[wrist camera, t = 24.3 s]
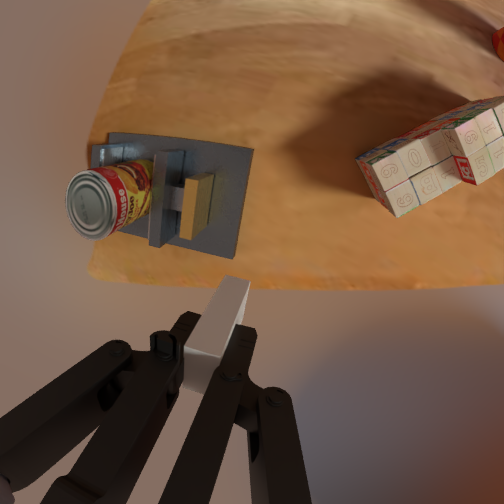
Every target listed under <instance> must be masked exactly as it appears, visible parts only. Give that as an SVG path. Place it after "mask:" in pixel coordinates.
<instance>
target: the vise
mask: <svg viewBox="0 0 504 504" xmlns="http://www.w3.org/2000/svg"><path fill="white" fill-rule="evenodd" d="M169 149H177V150H184V157H183V164H182V171H181V179H180V184H184V185H185V181H186V178H188V177H191V176H194V175H197V174H200V173H208V174H213V175H214V178H213V185H212V192H211V199H210V206H209V213H208V220H207V226H206V227H205V228H204V229H203V230H202V231H201V232H200V233H199V234H197V235H196V236H195V237H194V238H193V239H192V240H188V239H184V238H180V237H179V236H180V226H181V216H182V212H181V211H177V216H176V226H175V236H174V237H173V238H172V239H171V240H169V241H168V242H167V243H168V244H172V245H176V246H179V247H184V248H188V249H192V250H196V251H200V252H204V253H208V254H212V255H216V256H220V257H224V258H228V259H232V260H233V258H234V256H235V252H236V247H237V241H238V235H239V229H240V224H241V218H242V212H243V207H244V201H245V195H246V190H247V184H248V179H249V173H250V168H251V163H252V157H253V152H254V149H251V148H246V147H240V146H234V145H228V144H222V143H215V142H208V141H201V140H193V139H185V138H177V137H167V136H157V135H146V134H132V133H116V132H115V133H110V134H109V143H107V144H97V145H92V155H91V169H93V168H97V167H102V166H107V165H112V164H117V163H122V162H128V161H133V160H139V159H145V160H149V161H152V162H153V163H154V156H155V154H156V151H160V150H169ZM148 225H149V214H147V215H145V216H143V217H141V218H140V219H138V220H136V221H134V222H132V223H130V224H128V225H127V226H125V227H123V228H121V229H119V230H117V231H120V232H124V233H128V234H132V235H136V236H140V237H144V238H148Z"/></svg>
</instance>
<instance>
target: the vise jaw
mask: <svg viewBox="0 0 504 504" xmlns="http://www.w3.org/2000/svg"><path fill="white" fill-rule="evenodd" d="M183 157H184V150H177V149H169V150H160V151H156V154H155V156H154V164H153V174H152V184H151V196H150V209H149V225H148V240H149V245H150V246H154V247H158V248H160V247H162V246H163V245H164V244H165V243H167V242H168V241H169V240H171V239H172V238H173V237H174V236H175V226H176V216H177V211H181V212H182V216H181V226H180V236H179V237H180V238H184V239H188V240H192V239H193V238H194V237H195V236H196V235H197V234H199V233H200V232H201V231H202V230H203V229H204V228H205V227H206V226H207V220H208V213H209V206H210V199H211V192H212V185H213V178H214V175H213V174H208V173H200V174H197V175H194V176H191V177H188V178H186V181H185V185H184V184H180V179H181V171H182V164H183Z"/></svg>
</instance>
